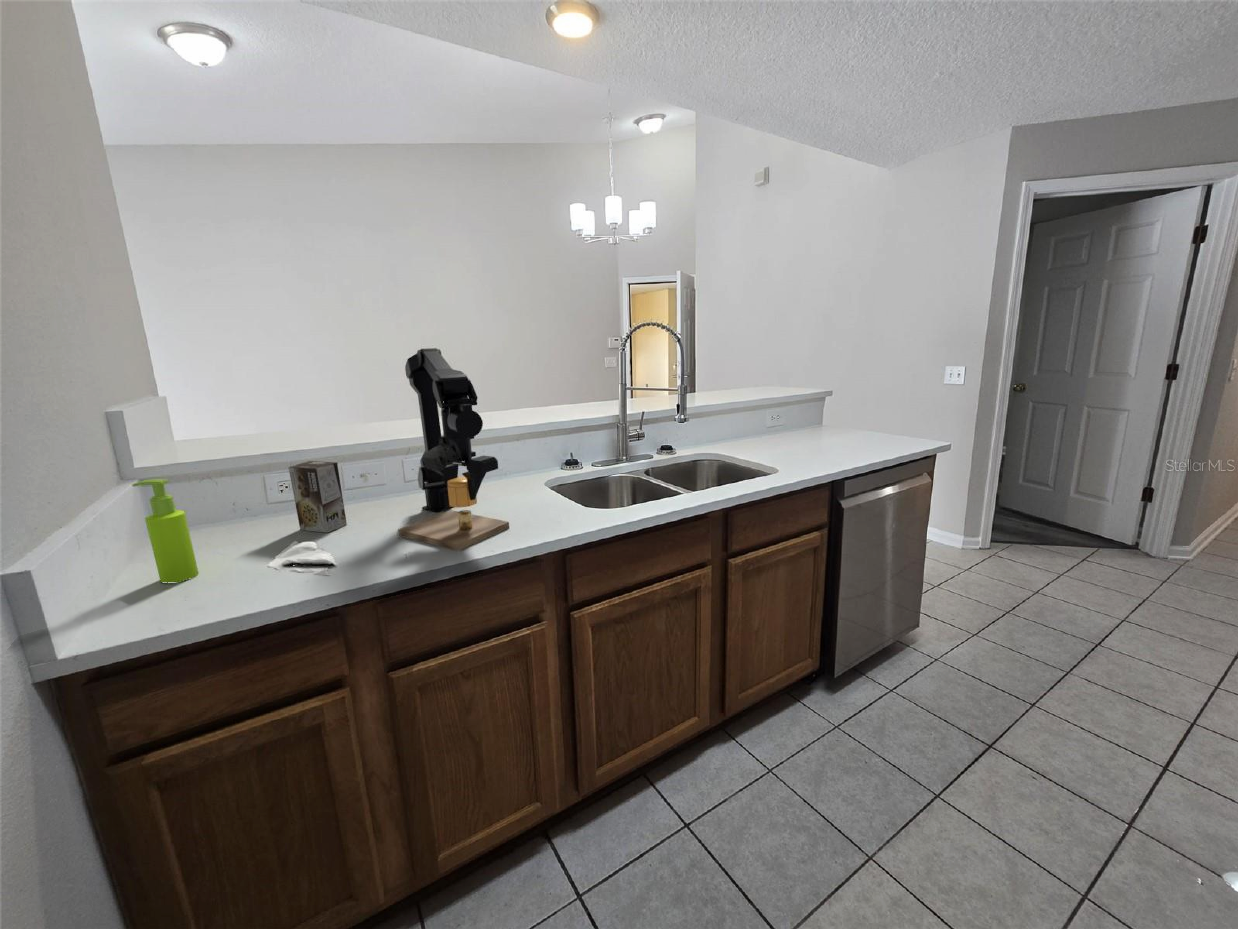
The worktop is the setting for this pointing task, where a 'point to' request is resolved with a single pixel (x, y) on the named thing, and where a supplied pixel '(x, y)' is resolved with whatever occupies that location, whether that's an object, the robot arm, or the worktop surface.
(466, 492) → the cap
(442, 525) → the wooden board
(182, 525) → the soap dispenser
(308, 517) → the coffee box
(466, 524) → the post
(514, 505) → the worktop surface
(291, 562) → the cloth
